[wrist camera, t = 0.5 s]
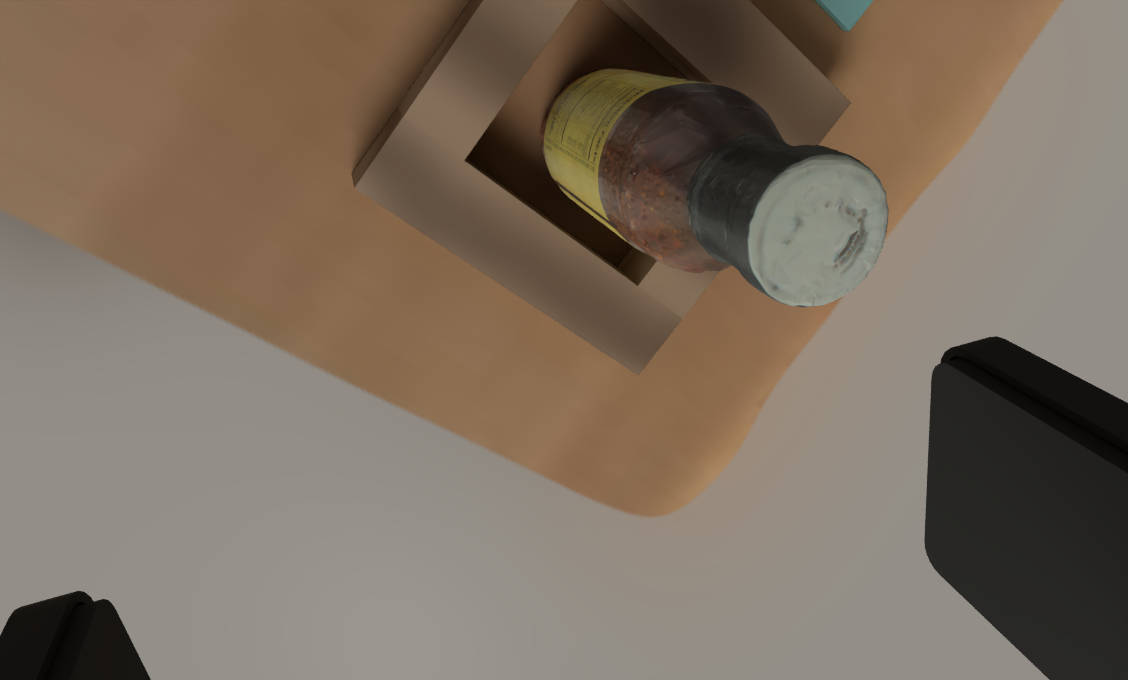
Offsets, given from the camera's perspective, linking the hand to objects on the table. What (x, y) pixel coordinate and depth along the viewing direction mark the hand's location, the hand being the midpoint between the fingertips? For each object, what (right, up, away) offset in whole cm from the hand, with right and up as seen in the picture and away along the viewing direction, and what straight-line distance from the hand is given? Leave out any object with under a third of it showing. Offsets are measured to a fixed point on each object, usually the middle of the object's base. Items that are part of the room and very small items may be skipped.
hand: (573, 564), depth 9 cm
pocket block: (+1, +12, +29) cm, 32 cm away
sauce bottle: (+1, +12, +30) cm, 32 cm away
